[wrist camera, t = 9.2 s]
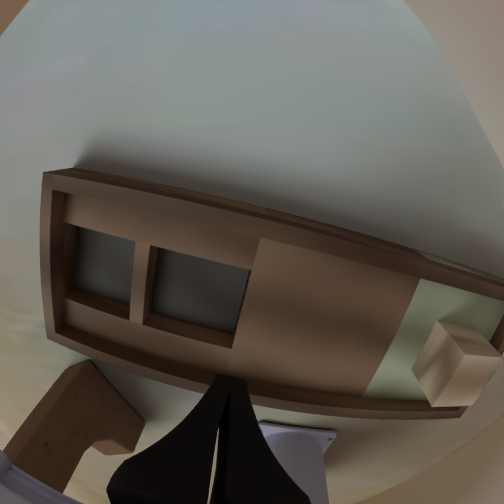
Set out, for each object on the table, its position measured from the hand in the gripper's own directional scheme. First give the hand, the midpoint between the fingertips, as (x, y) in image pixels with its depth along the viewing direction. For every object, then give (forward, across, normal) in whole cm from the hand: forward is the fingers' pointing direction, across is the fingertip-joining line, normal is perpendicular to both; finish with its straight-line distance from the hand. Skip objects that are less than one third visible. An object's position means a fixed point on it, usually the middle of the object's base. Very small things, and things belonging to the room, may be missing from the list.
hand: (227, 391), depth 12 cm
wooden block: (+10, +11, +15) cm, 21 cm away
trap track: (+9, -4, 0) cm, 10 cm away
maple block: (+7, -16, 0) cm, 18 cm away
